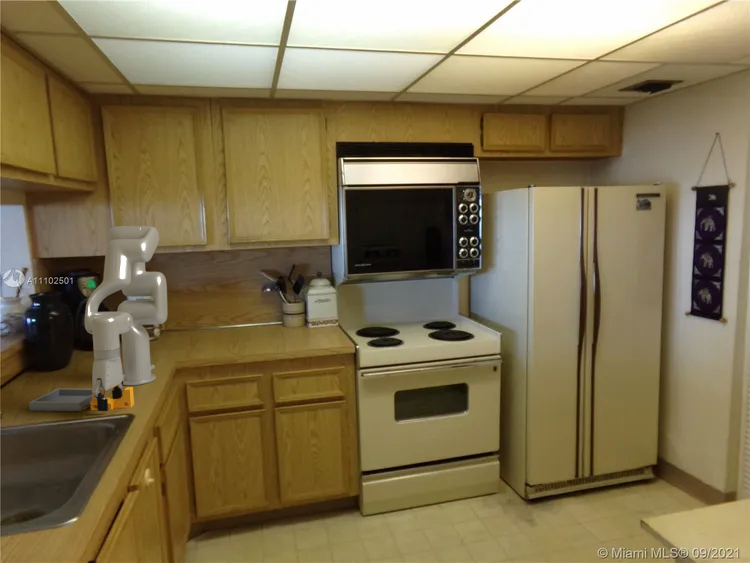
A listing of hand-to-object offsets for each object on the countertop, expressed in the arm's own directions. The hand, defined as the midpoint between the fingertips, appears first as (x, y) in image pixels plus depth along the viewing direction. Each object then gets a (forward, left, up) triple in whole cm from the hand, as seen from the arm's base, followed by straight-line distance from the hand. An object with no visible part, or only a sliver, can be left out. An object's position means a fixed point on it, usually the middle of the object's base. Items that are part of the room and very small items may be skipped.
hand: (110, 405), depth 164 cm
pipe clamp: (-1, 0, -2) cm, 2 cm away
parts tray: (-4, -17, -1) cm, 18 cm away
